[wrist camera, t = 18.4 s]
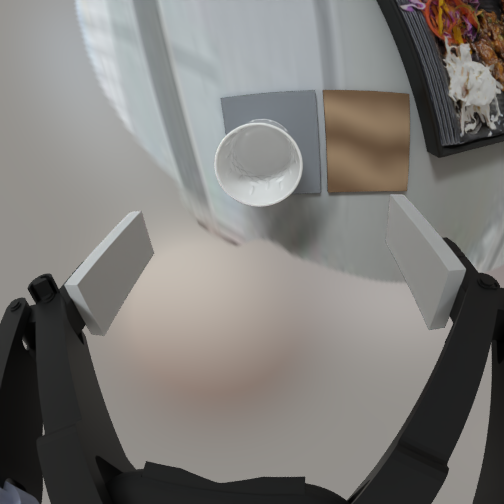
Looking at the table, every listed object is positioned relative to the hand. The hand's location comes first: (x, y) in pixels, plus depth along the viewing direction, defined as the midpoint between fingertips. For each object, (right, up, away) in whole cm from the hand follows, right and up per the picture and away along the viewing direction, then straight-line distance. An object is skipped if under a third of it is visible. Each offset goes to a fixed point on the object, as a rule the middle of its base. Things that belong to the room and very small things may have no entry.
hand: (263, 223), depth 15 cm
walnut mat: (+14, +12, +18) cm, 26 cm away
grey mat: (+2, +12, +19) cm, 23 cm away
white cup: (+1, +11, +19) cm, 22 cm away
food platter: (+39, +29, +6) cm, 48 cm away
